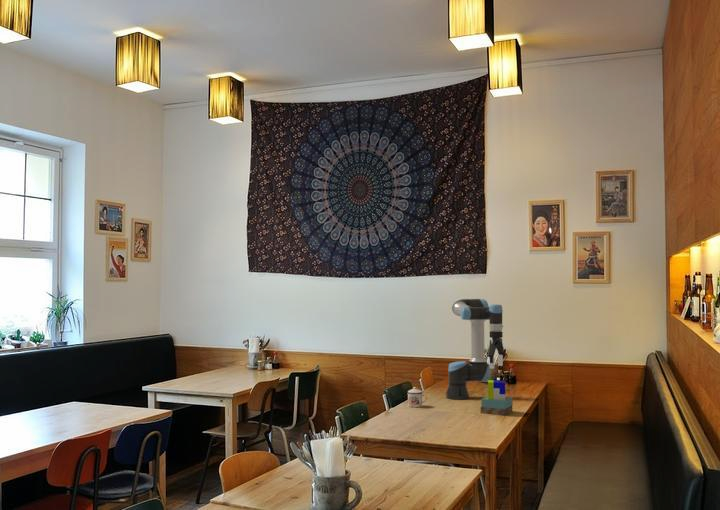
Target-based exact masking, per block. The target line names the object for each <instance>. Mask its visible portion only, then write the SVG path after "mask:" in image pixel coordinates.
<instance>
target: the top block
mask: <svg viewBox="0 0 720 510" xmlns="http://www.w3.org/2000/svg"><path fill="white" fill-rule="evenodd" d="M480 400H481V402H480V403H481V406H482V407H488V408H498V409H506V408H508V407H510V406H512V407H513V403H514V402H513V397H510V396H505V400H488V395H487V396H485V397H483V398H481V399H480ZM481 406H480V407H481Z"/></svg>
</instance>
